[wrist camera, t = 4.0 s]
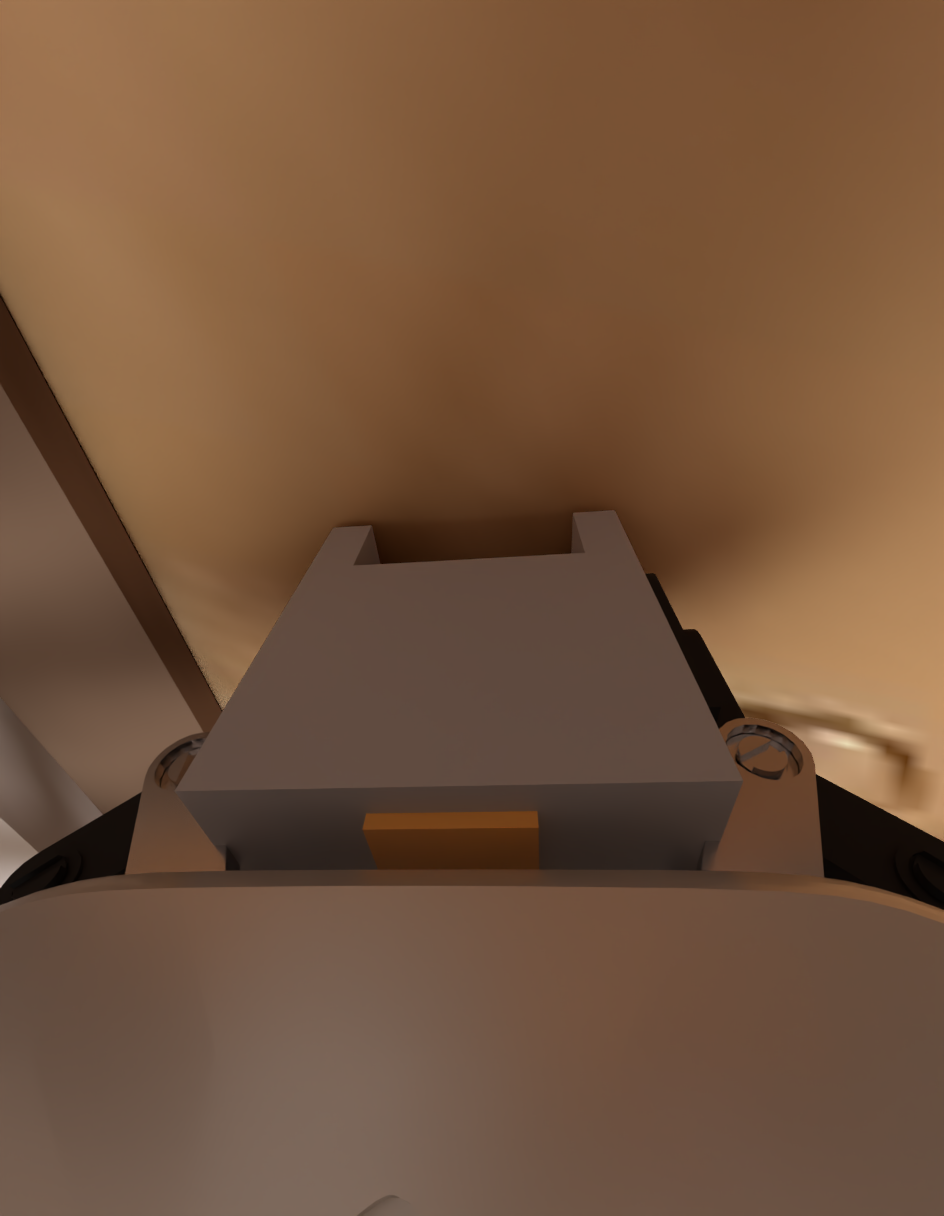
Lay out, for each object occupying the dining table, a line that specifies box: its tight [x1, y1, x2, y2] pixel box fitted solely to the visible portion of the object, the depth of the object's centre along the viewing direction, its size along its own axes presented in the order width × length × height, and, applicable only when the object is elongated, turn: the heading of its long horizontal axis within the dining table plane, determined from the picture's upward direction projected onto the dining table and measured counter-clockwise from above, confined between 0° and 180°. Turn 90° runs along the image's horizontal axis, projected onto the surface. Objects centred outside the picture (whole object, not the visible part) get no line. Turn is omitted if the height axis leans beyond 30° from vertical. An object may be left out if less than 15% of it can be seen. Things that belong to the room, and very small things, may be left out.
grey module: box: [175, 510, 743, 871], centre depth 10 cm, size 5×6×7 cm
